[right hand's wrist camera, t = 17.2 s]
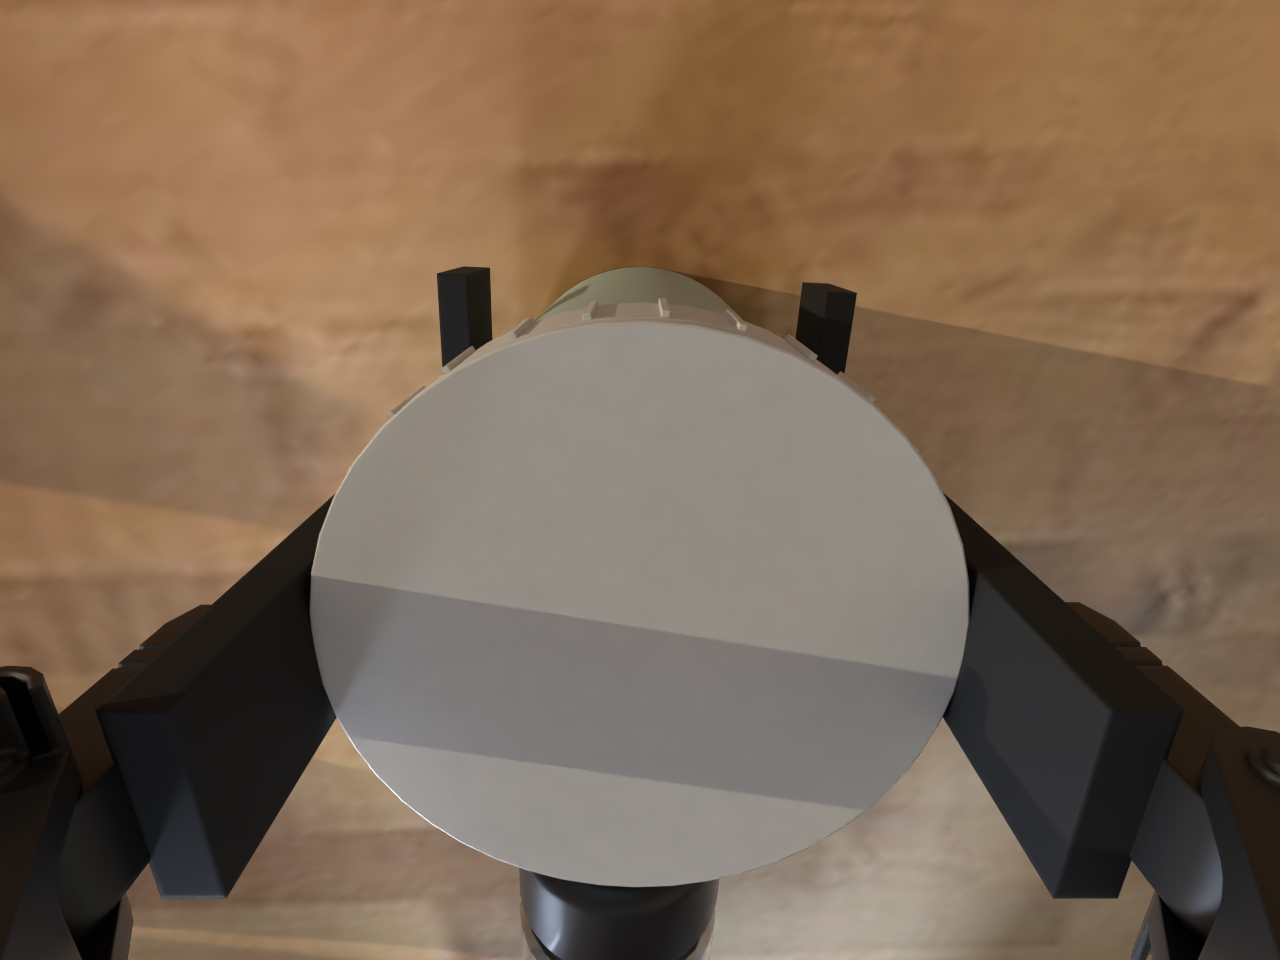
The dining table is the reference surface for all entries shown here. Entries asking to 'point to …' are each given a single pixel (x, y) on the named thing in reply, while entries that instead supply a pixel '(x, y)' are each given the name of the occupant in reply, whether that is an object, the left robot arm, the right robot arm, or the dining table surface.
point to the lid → (639, 598)
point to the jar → (638, 291)
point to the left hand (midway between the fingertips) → (647, 279)
